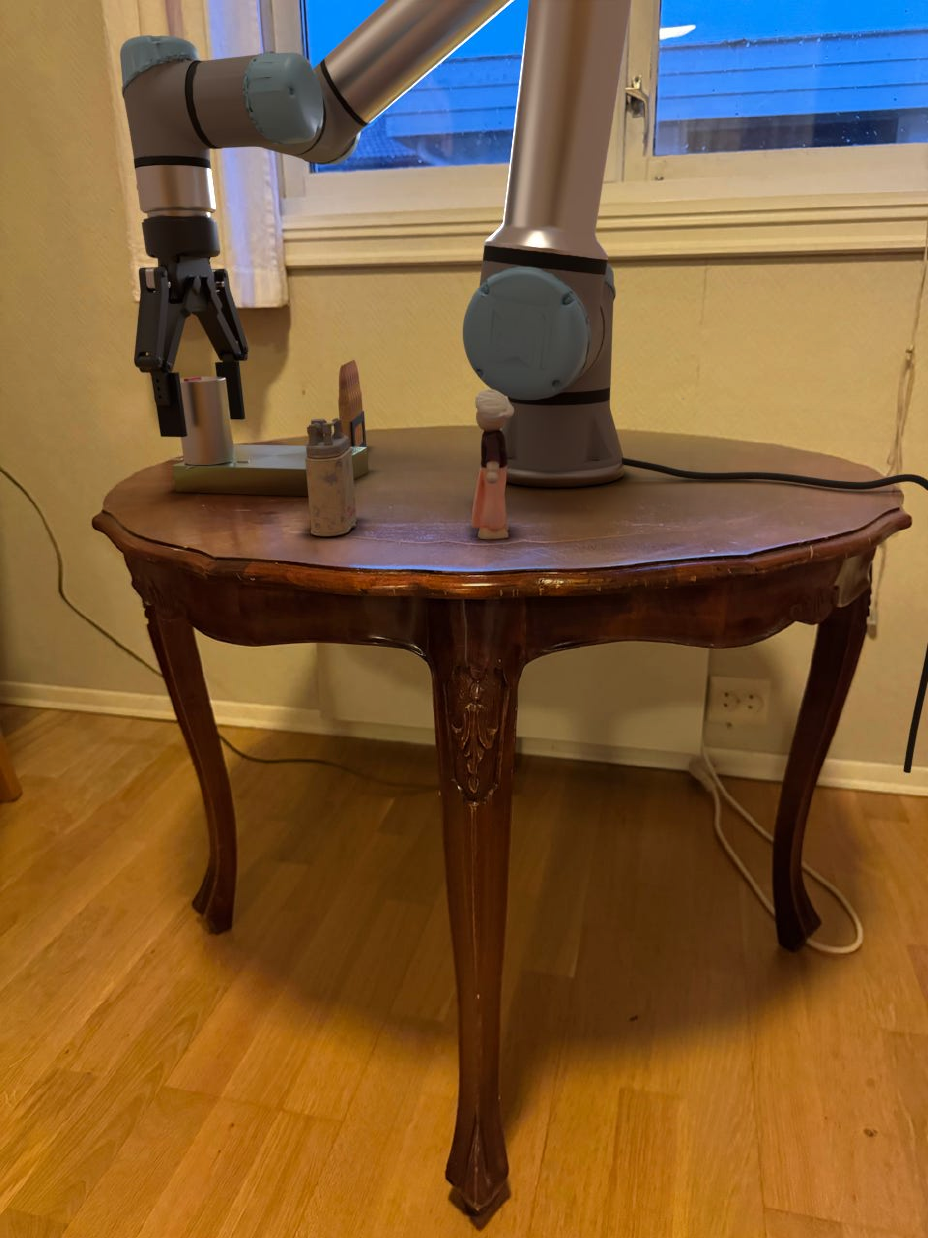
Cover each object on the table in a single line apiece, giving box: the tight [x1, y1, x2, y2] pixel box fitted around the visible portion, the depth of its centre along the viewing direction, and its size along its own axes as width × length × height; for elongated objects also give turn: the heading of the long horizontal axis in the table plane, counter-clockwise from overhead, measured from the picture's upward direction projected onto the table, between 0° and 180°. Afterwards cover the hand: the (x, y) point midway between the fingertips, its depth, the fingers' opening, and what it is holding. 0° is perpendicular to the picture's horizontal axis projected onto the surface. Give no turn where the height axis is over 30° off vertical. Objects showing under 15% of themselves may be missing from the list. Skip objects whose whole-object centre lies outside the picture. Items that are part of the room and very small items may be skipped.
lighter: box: [305, 417, 358, 537], centre depth 80 cm, size 7×4×10 cm, turn 176°
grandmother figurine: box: [470, 388, 514, 540], centre depth 76 cm, size 8×4×13 cm, turn 5°
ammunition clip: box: [337, 359, 368, 448], centre depth 116 cm, size 11×2×12 cm, turn 178°
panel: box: [169, 443, 370, 498], centre depth 102 cm, size 20×16×3 cm
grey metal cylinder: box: [180, 375, 235, 465], centre depth 98 cm, size 6×6×9 cm
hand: (205, 427), depth 98 cm, fingers open, 12 cm apart
